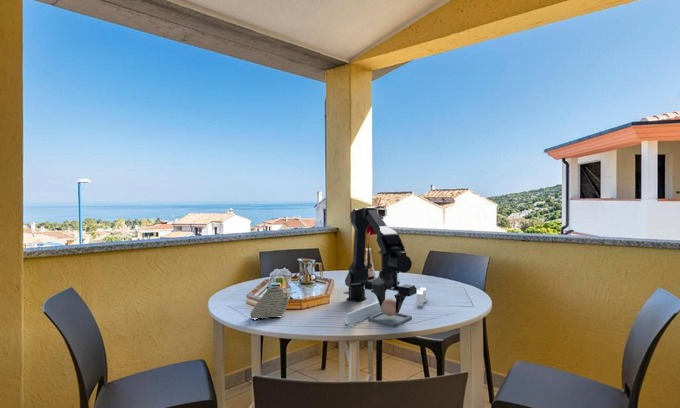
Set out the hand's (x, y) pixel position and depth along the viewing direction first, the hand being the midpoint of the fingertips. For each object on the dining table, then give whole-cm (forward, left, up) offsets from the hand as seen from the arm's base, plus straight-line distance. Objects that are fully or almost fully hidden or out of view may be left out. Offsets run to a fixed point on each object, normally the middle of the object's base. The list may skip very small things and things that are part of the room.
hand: (389, 311), depth 127 cm
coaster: (0, 0, -3) cm, 3 cm away
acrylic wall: (-8, -3, -3) cm, 9 cm away
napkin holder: (-1, +27, -4) cm, 28 cm away
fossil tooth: (-37, -24, -3) cm, 44 cm away
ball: (0, 0, +2) cm, 2 cm away
